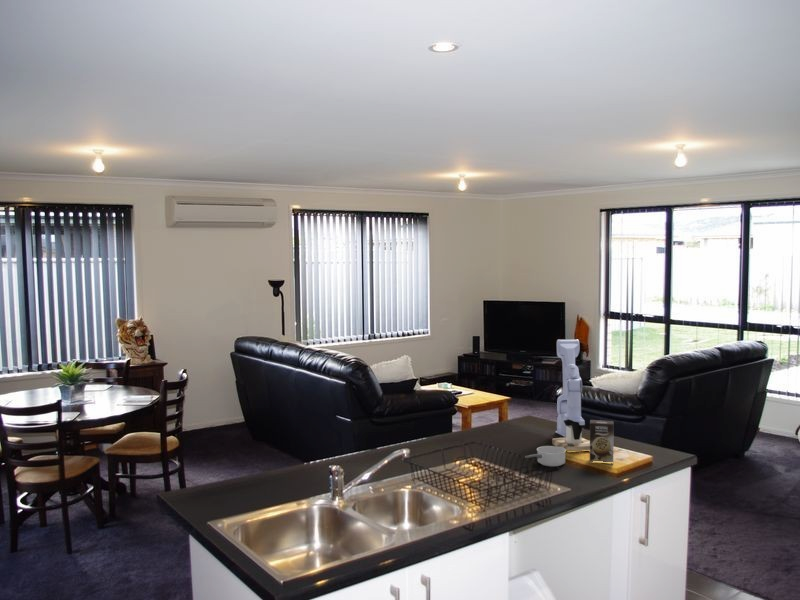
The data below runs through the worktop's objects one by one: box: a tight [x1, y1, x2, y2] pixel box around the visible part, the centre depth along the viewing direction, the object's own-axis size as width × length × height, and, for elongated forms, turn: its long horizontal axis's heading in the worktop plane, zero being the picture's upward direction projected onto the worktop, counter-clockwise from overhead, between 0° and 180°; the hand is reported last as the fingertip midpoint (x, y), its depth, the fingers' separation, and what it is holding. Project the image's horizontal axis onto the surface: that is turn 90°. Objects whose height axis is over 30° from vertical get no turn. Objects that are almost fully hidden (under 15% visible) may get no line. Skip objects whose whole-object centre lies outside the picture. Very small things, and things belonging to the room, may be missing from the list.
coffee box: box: [589, 419, 615, 463], centre depth 267 cm, size 9×6×16 cm
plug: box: [566, 426, 585, 444], centre depth 288 cm, size 4×7×8 cm, turn 104°
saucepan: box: [524, 445, 567, 467], centre depth 264 cm, size 12×20×6 cm, turn 125°
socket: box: [551, 436, 590, 451], centre depth 288 cm, size 15×13×3 cm
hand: (574, 438), depth 288 cm, fingers closed on plug, 4 cm apart
